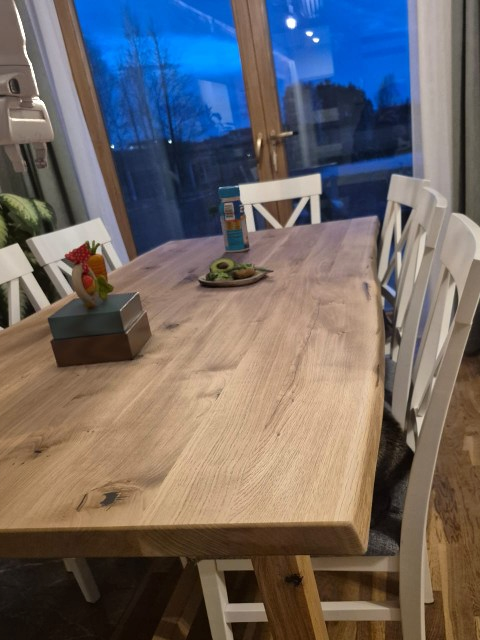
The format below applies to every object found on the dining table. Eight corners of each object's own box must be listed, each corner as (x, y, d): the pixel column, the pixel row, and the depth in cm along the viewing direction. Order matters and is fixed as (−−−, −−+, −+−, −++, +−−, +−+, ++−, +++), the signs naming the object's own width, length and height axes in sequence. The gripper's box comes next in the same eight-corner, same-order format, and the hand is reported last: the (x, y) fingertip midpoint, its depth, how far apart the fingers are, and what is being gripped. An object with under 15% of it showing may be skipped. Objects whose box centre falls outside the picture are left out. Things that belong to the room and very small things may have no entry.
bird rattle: (111, 316, 106) (117, 285, 112) (89, 266, 98) (97, 236, 104) (77, 320, 106) (85, 289, 112) (52, 270, 98) (63, 240, 104)
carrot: (105, 295, 153) (91, 237, 146) (117, 296, 150) (103, 237, 144) (90, 300, 149) (74, 241, 143) (101, 302, 146) (86, 242, 140)
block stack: (57, 367, 105) (43, 319, 101) (84, 341, 117) (72, 298, 114) (133, 359, 104) (121, 311, 100) (151, 334, 117) (141, 290, 113)
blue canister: (220, 252, 193) (210, 188, 184) (240, 247, 198) (231, 185, 189) (235, 254, 187) (225, 188, 179) (255, 248, 192) (247, 184, 184)
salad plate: (285, 270, 158) (283, 253, 156) (258, 287, 143) (256, 269, 141) (223, 271, 165) (220, 255, 163) (191, 288, 150) (187, 270, 148)
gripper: (19, 92, 113) (39, 168, 119) (-37, 85, 94) (-10, 175, 100) (51, 89, 113) (69, 165, 119) (1, 81, 94) (25, 172, 100)
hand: (32, 170), depth 109 cm, fingers open, 8 cm apart
